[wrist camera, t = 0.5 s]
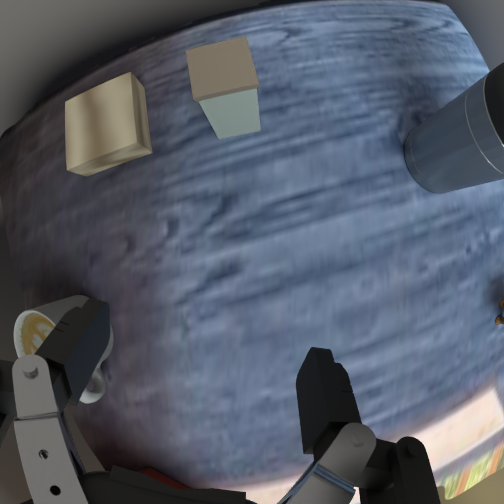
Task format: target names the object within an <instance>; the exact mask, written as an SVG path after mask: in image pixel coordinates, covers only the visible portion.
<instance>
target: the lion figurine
mask: <svg viewBox="0 0 504 504" xmlns="http://www.w3.org/2000/svg"><path fill="white" fill-rule="evenodd" d="M500 306H501V307H502V308H504V299H503V300H501V302H500ZM498 324H504V317H497V318H496V325H498Z"/></svg>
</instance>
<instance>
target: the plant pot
mask: <svg viewBox="0 0 504 504" xmlns="http://www.w3.org/2000/svg"><path fill="white" fill-rule="evenodd" d="M138 473H142V474H145V475H147V476H149V477H151V478H153V479H155V480H157V481H159V482H161V483H163V484H166V485H168V486H170V487H172V488H175V489H178V490H189V489H191V488H188V487H186V486H184V485H182V484H180V483H178V482H176V481H174V480H172V479H171V478H169V477H167V476H165V475H163V474H161V473H159V472H158V471H156V470H154V469H152V468H150V467H145V468H143V469H142V470H140V471H138Z"/></svg>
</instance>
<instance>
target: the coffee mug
mask: <svg viewBox="0 0 504 504" xmlns="http://www.w3.org/2000/svg"><path fill="white" fill-rule="evenodd" d="M88 299H89V297H87V296H83V295H74V296H71V297H67V298H64V299H61V300H58V301H55V302H51V303H48V304H45V305H42V306H39V307H35V308H32V309H29V310H26V311H24V312H23V313H21V314H20V315H19V317H18V319H17V321H16V323H15V328H14V343H15V347H16V351H17V354H18V357H19V358H20V357H22V356H24V355H28V354H33V355H34V354H35V352H36V351H37V350H38V348H39V347H40V346H41V344H42V343H43V342H44V340H45V339H46V338H47V336H48V335H49V334H50V332H51V331H52V330H53V329H54V327H55V326H56V324H57V323H58V322H59V321H60V319H61V318H62V317H63V316H64V314H65V313H66V312H67V311H69V310H71V309H73V308H74V307H76V306H77V307H80V308H82V306H83V305H84V304H85V303H86V301H87V300H88ZM113 341H114V335H113V329H112V325H111V322H110V340H109V343H108V346H107V348H106V350H105V352H104V353H103V355H102V357H101V359H100V361H99V363H98V365H97V366H96V368H95V370H94V372H93V374H92V376H91V379H92V380H93V382H94V390H93V391H92V392H91V391H88V390H87V389H86V388H85V390H84V392H83V394H82V396H81V398H80V401H82V402H84V403H92V402H95V401H97V400H98V399H100V398H101V397H102V396H103V394H104V392H105V389H106V383H105V379H104V376H103V374H102V372H101V368H100V365H101V363H102V362H103V361H104V360H105V359H106V358H107V357H108V356H109V354H110V353H111V350H112V347H113Z"/></svg>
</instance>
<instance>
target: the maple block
mask: <svg viewBox="0 0 504 504" xmlns="http://www.w3.org/2000/svg"><path fill="white" fill-rule="evenodd" d="M65 141H66V163H67V170H68V171H71V172H74V173H77V174H81V175H84V176H90V175H92V174H95V173H97V172H100V171H103V170H105V169H108V168H111V167H113V166H116V165H119V164H122V163H124V162H127V161H130V160H133V159H136V158H139V157H142V156H145V155H148V154H151V153H152V147H151V140H150V132H149V124H148V116H147V108H146V99H145V89H144V87H143V85H142V84H141V83H140V82H139V81H138V80H137V79H136V77H135V76H134V75H133V74H132V73H131V72H129V73H126V74H124V75H122V76H119V77H117V78H114V79H112V80H110V81H107V82H105V83H103V84H101V85H99V86H96V87H94V88H92V89H90V90H88V91H86V92H84V93H82V94H80V95H78V96H76V97H74V98H72V99H70V100H68V101H66V102H65Z"/></svg>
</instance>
